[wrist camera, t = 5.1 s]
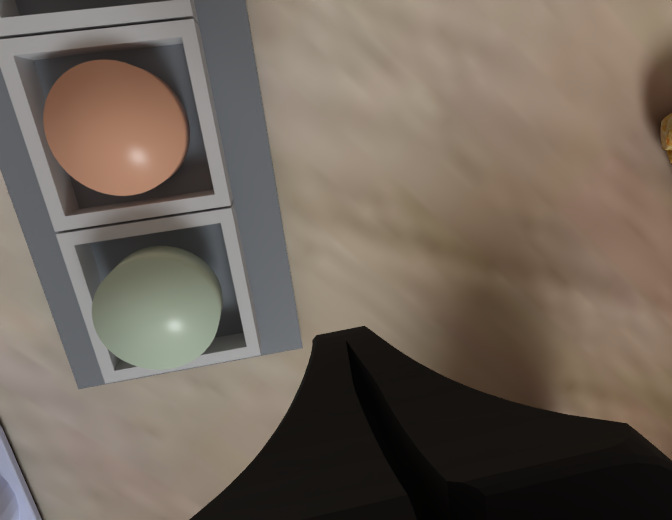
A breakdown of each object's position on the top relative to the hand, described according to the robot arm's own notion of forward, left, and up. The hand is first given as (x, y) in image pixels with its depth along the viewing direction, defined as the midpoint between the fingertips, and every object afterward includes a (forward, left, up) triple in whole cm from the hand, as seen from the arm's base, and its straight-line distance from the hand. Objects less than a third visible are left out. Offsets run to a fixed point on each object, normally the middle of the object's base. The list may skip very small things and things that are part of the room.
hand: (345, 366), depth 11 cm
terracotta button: (-6, +6, -9) cm, 12 cm away
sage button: (-6, 0, -8) cm, 10 cm away
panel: (-6, +6, -10) cm, 13 cm away
